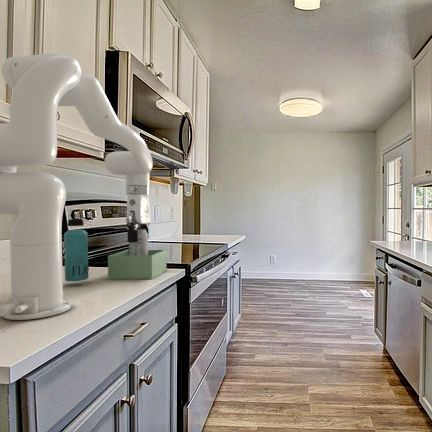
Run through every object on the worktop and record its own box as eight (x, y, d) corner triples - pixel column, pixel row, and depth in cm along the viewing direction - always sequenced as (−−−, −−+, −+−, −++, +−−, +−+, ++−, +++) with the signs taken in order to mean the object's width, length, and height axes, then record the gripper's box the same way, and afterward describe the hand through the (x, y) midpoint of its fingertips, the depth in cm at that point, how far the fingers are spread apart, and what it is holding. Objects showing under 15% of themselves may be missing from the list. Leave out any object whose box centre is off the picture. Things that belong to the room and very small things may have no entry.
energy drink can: (152, 271, 126) (151, 229, 125) (140, 274, 120) (139, 230, 120) (138, 270, 128) (137, 228, 127) (125, 273, 122) (125, 230, 121)
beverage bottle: (69, 287, 104) (68, 219, 103) (60, 284, 108) (59, 218, 107) (93, 283, 109) (92, 218, 109) (83, 280, 113) (82, 218, 113)
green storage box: (152, 278, 117) (151, 255, 116) (108, 279, 116) (107, 255, 116) (166, 270, 132) (166, 249, 132) (127, 270, 131) (127, 249, 131)
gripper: (139, 190, 114) (139, 243, 115) (157, 192, 132) (157, 238, 132) (115, 190, 114) (116, 243, 115) (137, 192, 132) (137, 238, 132)
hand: (138, 240), depth 124 cm, fingers open, 9 cm apart
